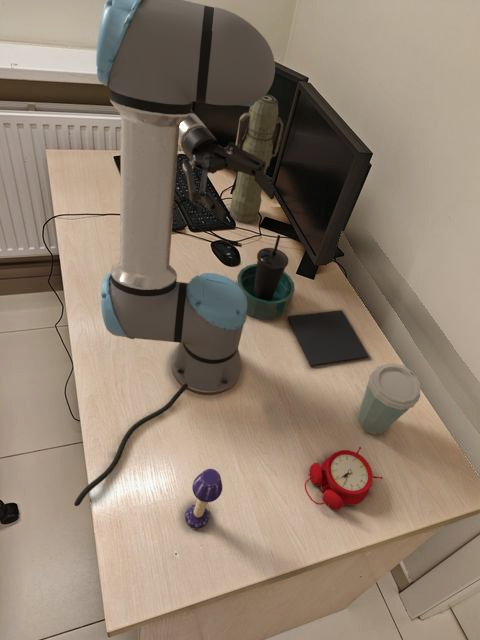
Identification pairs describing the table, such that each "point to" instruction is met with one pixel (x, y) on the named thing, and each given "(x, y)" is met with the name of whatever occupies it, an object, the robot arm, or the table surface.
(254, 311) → the green bowl
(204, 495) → the toy lamp
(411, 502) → the table surface
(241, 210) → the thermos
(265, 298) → the drinking cup
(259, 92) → the robot arm
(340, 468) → the alarm clock
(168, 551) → the table surface
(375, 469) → the table surface
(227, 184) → the table surface
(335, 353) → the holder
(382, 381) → the disposable coffee cup
